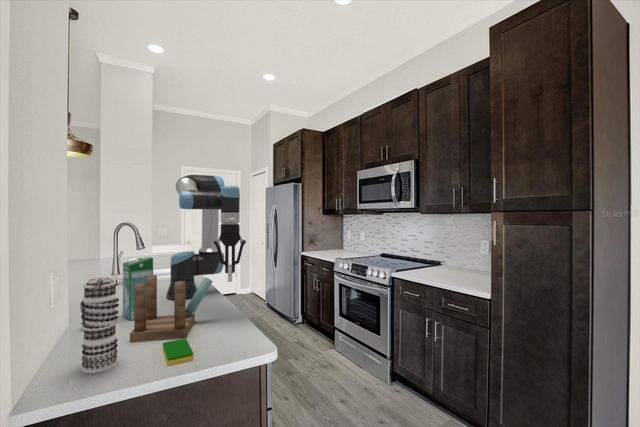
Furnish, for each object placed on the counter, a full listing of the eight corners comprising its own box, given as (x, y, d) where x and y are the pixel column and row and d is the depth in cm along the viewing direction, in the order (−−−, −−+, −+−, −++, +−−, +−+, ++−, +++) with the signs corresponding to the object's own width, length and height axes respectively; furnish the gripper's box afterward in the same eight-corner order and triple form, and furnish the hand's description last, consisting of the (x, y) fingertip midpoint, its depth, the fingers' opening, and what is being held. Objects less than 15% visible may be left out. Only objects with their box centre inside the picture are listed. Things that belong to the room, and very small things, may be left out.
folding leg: (186, 307, 129) (205, 276, 130) (194, 311, 129) (213, 280, 131) (184, 310, 125) (203, 278, 127) (193, 314, 126) (211, 282, 127)
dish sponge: (186, 345, 108) (186, 337, 108) (193, 361, 96) (193, 353, 96) (162, 349, 104) (162, 342, 104) (167, 367, 92) (167, 358, 92)
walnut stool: (147, 323, 127) (147, 275, 127) (195, 320, 131) (195, 273, 131) (129, 342, 109) (130, 285, 109) (185, 337, 113) (186, 283, 113)
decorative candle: (93, 376, 86) (93, 283, 86) (72, 369, 89) (73, 280, 89) (126, 362, 94) (126, 277, 94) (105, 356, 98) (106, 275, 98)
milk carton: (122, 315, 136) (122, 257, 136) (145, 311, 143) (145, 255, 143) (129, 320, 130) (129, 259, 130) (153, 315, 137) (153, 257, 137)
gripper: (212, 223, 126) (212, 283, 125) (246, 223, 128) (246, 282, 128) (214, 223, 133) (214, 279, 133) (246, 223, 136) (246, 278, 136)
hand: (230, 281), depth 131 cm, fingers closed
